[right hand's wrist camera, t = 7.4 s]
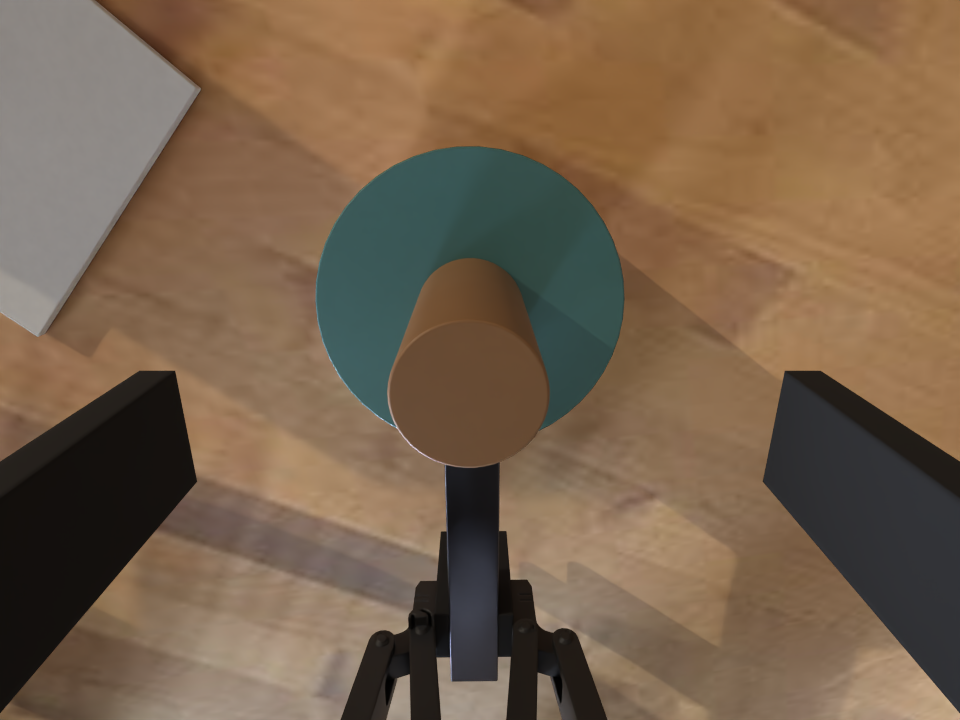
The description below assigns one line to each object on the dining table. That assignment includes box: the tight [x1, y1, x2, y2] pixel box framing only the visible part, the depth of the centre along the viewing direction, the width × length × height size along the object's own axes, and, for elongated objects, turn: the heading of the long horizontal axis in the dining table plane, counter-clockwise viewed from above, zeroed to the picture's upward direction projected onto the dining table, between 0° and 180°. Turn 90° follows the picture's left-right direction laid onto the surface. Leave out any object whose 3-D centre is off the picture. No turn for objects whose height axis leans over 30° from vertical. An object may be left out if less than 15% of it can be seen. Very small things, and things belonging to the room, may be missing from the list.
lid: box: [316, 146, 624, 468], centre depth 18 cm, size 12×12×9 cm
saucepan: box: [445, 462, 500, 681], centre depth 29 cm, size 25×10×8 cm, turn 0°
